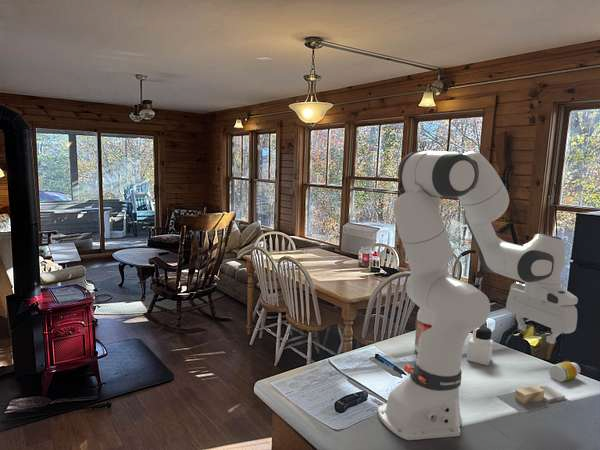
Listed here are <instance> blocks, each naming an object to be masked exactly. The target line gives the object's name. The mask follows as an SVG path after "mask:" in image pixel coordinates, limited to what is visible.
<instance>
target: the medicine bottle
mask: <svg viewBox="0 0 600 450" xmlns="http://www.w3.org/2000/svg"><path fill="white" fill-rule="evenodd" d="M492 332H493V331H492V329H491V328H489V327H487V326H484V325H482V326H480V327H479V328H477V329H474V330H472V336H471V337H470V339H469V340H468V346H467V354H466V355H467V356H466V360H467V361H469V362H473V363H475V364H480V365H483V366H489V365H490V362H491V360H492V356H493V346H494V339H492Z"/></svg>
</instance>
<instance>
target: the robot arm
mask: <svg viewBox="0 0 600 450" xmlns="http://www.w3.org/2000/svg"><path fill="white" fill-rule="evenodd" d="M499 175H500V174H498V173H497V171H496V170H495V168H494V167H493V166H492V164H491V163H490V162H489V160H488V159H486V158H485V156H484V155H482V153H480V152H477V151H466V152H464V153H462V152H458V151H445V150H439V149H438V150H437V149H433V150H431V149H430V150H418V151H413V152H411V153H408V154H407V155H405V156H404V157H403V158H402V159H401V160H400V162H399V163H398V167H397V180H398V190H399V191H400V193H401V194H400V195H399V196H398V197H396V200H395V201H394V203H393V214H394V220H395V224H396V229H397V232H398V234H399V238H400V240H401V243H402V247H403V250H404V252H405V255H406V258H407V261H408V265H409V269H410V275H409V276H408V279H407V281H406V283H405V291H406V294H407V296H408V298H409V299H410V300H411V301H412V302H413V303H414V304H415V305H416V306H417V307H419V309H420V308H422V309H424V310H426V311H428V312H430V313H431V314H433V316H434V321H433V324H432V327H431V328H430V329H428V330H426V331H424V332H423V333H422V334H421V335H420V337H419V346H418V352H417V360H416V361H415V363H414V365H413V366H411V365H410V364H408V363H407V364H404V366H403V371H404V372H405V373H407V374H408V375H409V377H407V378H406V379H405V380H404V381H402V382H401V383H400V384H398V385H397V386H396V387H395V388H394V389H393V390H391V391H390V393H389V395H388V398H387V401H386V403H385V404H382V405H379V406H378V407H377V415H378V417H379V420H380V421H381V422H382V423H383V424H384V426H385V427H387V428H388V429H389V430H390V431H391V432H392V433H393V434H395V435H396V436H398V437H399V438H402V439H404V440H406V441H414V440H416V441H417V440H427V439H439V438H451V437H460V436H461V428H460V427H461V425H462V421H463V420H462V416H461V411H460V410H461V409H460V389H459V388H460V386H461V384H462V369H461V365H462V358H463V351H464V350H463V349H464V345H465V342H466V340H467V338H468V336H469V335H470V333H471V332H473V330H474V329H477V328H479V327H480V326H484V324H485V323H486V322H487V320H488V319H489V317H490V314H491V302H490V300H489V298H488V296H487V295H486V294H485V293H484V292H483V291H481V290H480V289H479V288H477V287H475V286H474V285H473V284H470V283H467V282H466V281H462V280H460V279H457V278H455V277H453V276H452V275H451V274H450V272H449V271H448V264H449V263H450V262H451V260H452V259H453V256H454V251H453V247H452V244H451V241H450V237H449V234H448V231H447V229H446V226H445V223H444V220H443V217H442V215H441V213H440V199H441V197H442V198H446V199H453V198H457V199H458V201H459V202H460V204H461V205H462V208H463V218H464V221H465V224H466V226H467V227H468V228H467V229H468V230H469V232H470V234H471V236H472V239H473V241H474V243H475V246H476V249H477V251H478V257H479V262H480V265H481V267H482V268H483V269H484V270H485V271H486V272H488V273H492V274H495V275H501V276H503V277H507V278H510V279H513V280H517V281H519V282H517V281H516V282H513V283H511V285H510V289H509V293H508V296H507V300H506V303H505V307H506V309H507V311H509V312H511V313H512V314H513V313H514V314H515V319H516V321H517V329H518V330H519V331H524V332H525V331H527V324H525V322H524V319H525V318H526V319H528V320H530V321H533V322H535V323H538V324H539V325H543V326H545V327H547V328H550V332H551V334H550V335H546V339H545V342H547V343H549V344H552V345H553V344H555V343H556V339H557V338H558V336H560V334H561V333H562V334H571V333H573V332H575V331H576V330H577V323H578V310H577V307H576V306H575V305H577V304H578V301H579V299H578V297H577V296H576V295H574V294H573V293H571V292H570V291H569V290H567V289H566V288H564V287H563V286H562V272H563V270H564V269H565V261H566V245H565V240H564V239H562V238H561V237H558V236H555V235H550V234H546V233H535V234H534V236H533V238H532V239H531V240H530V241H528V242H527V243H524V244H521V245H520V244H515V243H512V242H508V241H505V240H503V239H501V238H500V237H498V236H497V233H496V231H495V229H494V227H493V224H492V222H494V221H496V220H498V219H499V218H500V217H502V216H503V215H504V214H505V212H506V211H507V209H508V208H509V204H510V197H509V192H508V190H507V188H506V186H505V184H504V183H503V180H502V179H501V177H500V176H499ZM520 282H523V283H520Z"/></svg>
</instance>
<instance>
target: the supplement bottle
mask: <svg viewBox="0 0 600 450" xmlns="http://www.w3.org/2000/svg"><path fill="white" fill-rule="evenodd" d="M580 373H581V367H580V365H579V364H578V363H576V362H570V361H563V362H559V363H556V364H553V365H550V367H549V369H548V374H549V376H550V377H551V379H552V380H555V381H558V382H560V383H563V382H567V381H569V380H572V379H575V378H577V376H578V375H579V374H580Z"/></svg>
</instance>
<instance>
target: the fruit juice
mask: <svg viewBox="0 0 600 450" xmlns="http://www.w3.org/2000/svg"><path fill="white" fill-rule="evenodd" d="M433 321H434V316H433V314H431V313H430V312H428V311H426V310H424V309H422V308H420V307H419V309H418V311H417V315H416V328H415V339H414V350H415V352H416V353H418V346H419V337H420V335H421V334H422V333H423V332H424V331H426V330H428V329H430V328H431V327H432V324H433Z"/></svg>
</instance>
